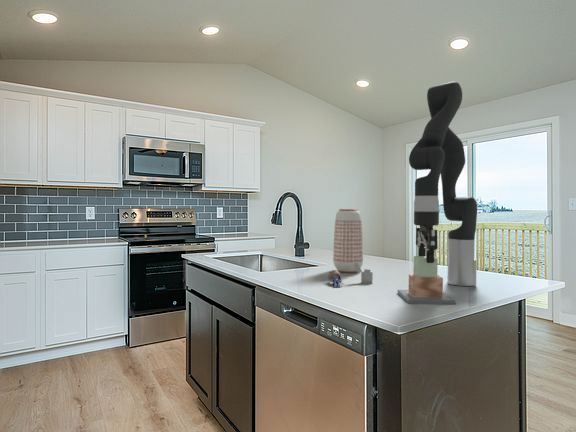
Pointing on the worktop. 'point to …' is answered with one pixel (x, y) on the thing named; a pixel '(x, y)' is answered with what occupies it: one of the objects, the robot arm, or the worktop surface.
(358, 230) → the patterned vase
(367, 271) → the lighter
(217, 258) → the worktop surface
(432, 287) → the base block
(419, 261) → the top block
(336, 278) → the figurine
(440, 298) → the baseplate
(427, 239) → the robot arm
